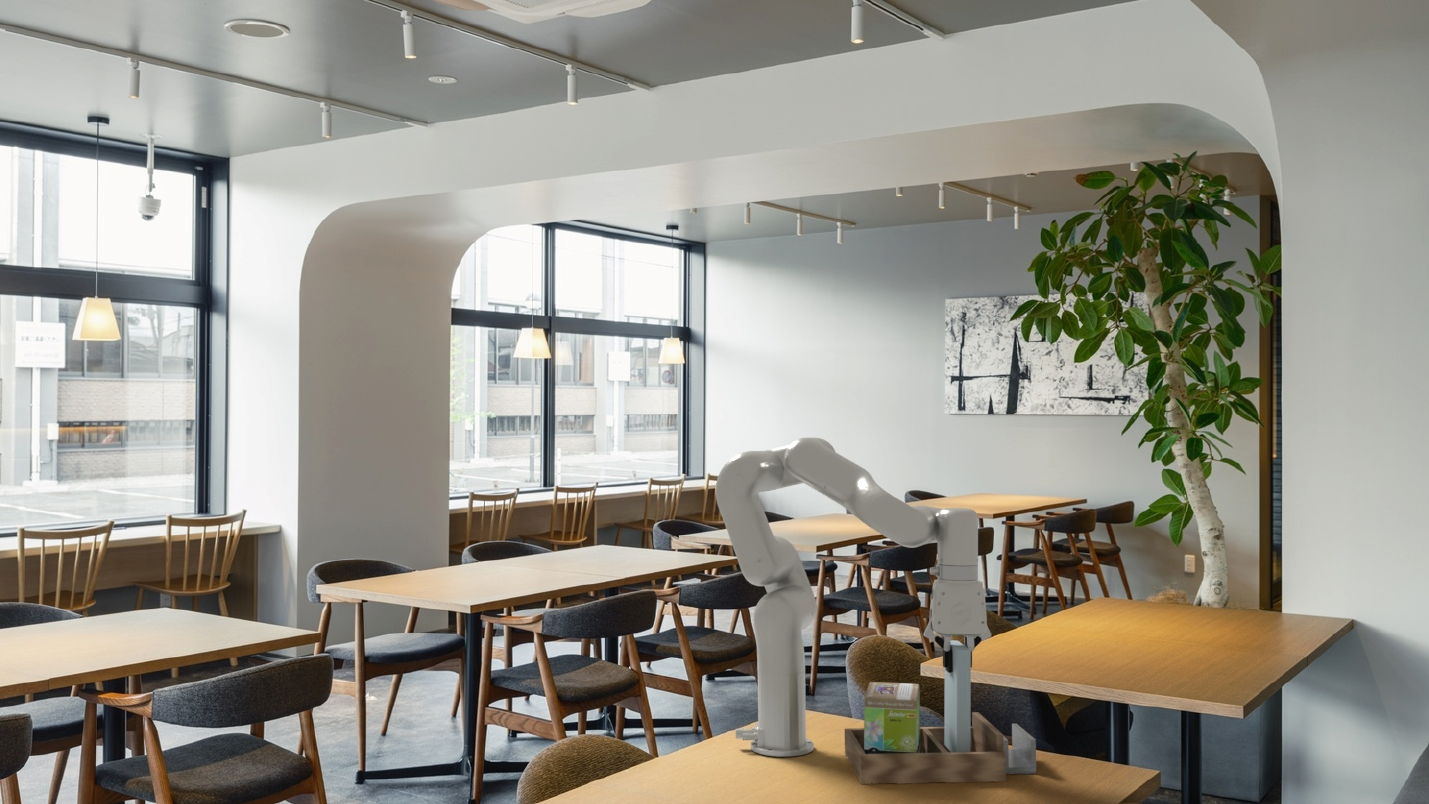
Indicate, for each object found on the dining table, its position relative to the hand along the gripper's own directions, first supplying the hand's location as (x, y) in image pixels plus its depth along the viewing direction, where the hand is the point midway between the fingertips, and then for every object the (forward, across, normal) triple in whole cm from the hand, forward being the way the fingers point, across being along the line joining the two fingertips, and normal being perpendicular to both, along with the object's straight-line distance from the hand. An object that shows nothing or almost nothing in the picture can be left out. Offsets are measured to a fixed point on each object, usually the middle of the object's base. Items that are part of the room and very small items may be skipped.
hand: (957, 670), depth 218 cm
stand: (+18, +10, 0) cm, 20 cm away
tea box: (+18, -12, 0) cm, 22 cm away
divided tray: (+18, -7, 0) cm, 19 cm away
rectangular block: (+15, 0, 0) cm, 15 cm away
